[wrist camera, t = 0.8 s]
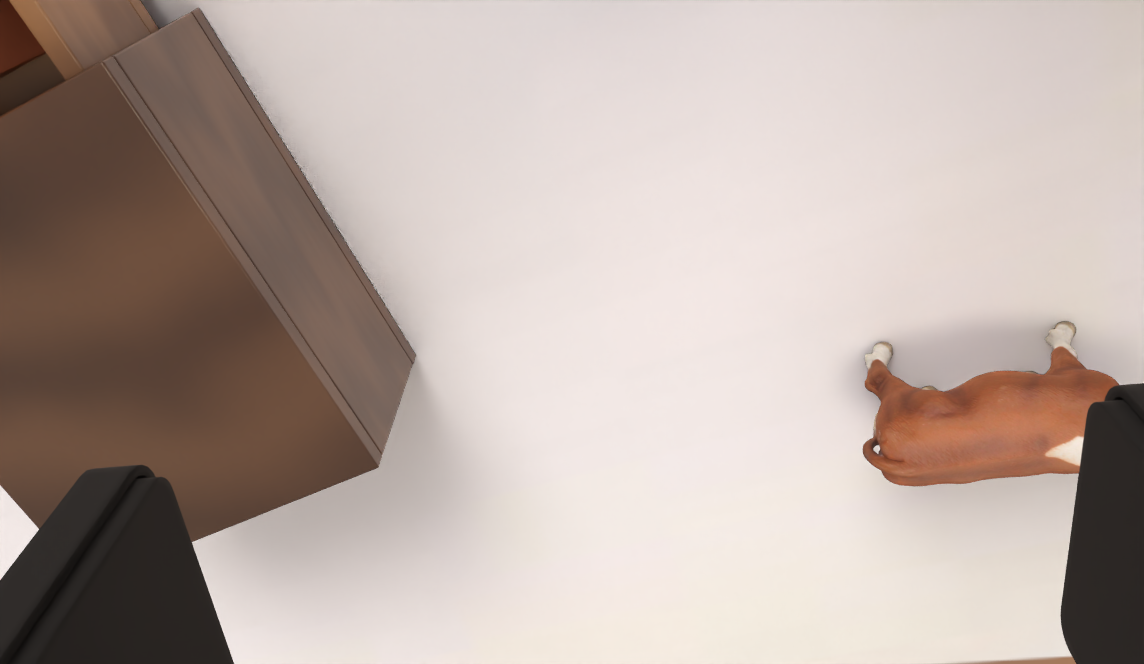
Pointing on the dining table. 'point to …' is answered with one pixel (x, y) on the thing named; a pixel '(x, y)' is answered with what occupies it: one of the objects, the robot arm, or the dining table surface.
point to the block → (15, 40)
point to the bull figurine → (984, 420)
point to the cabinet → (180, 295)
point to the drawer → (71, 41)
